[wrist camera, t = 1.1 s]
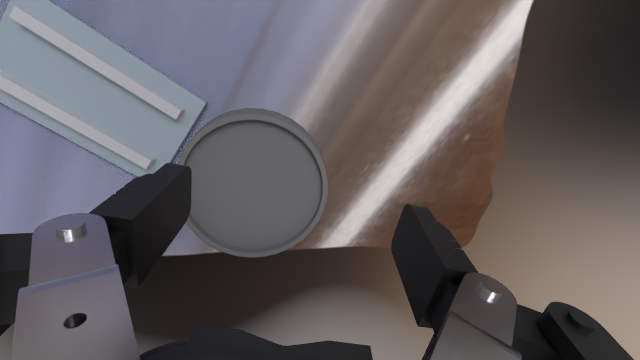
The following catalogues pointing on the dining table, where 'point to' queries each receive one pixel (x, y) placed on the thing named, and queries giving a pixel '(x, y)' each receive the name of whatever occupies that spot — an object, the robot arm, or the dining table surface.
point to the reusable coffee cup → (254, 183)
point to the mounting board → (91, 88)
